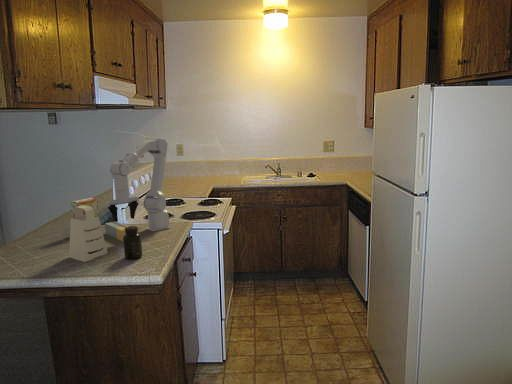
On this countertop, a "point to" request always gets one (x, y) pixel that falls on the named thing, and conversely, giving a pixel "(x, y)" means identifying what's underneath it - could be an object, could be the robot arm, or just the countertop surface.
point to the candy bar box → (86, 202)
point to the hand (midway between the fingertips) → (124, 219)
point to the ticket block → (112, 228)
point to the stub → (120, 232)
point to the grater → (86, 235)
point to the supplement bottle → (132, 243)
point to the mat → (120, 240)
